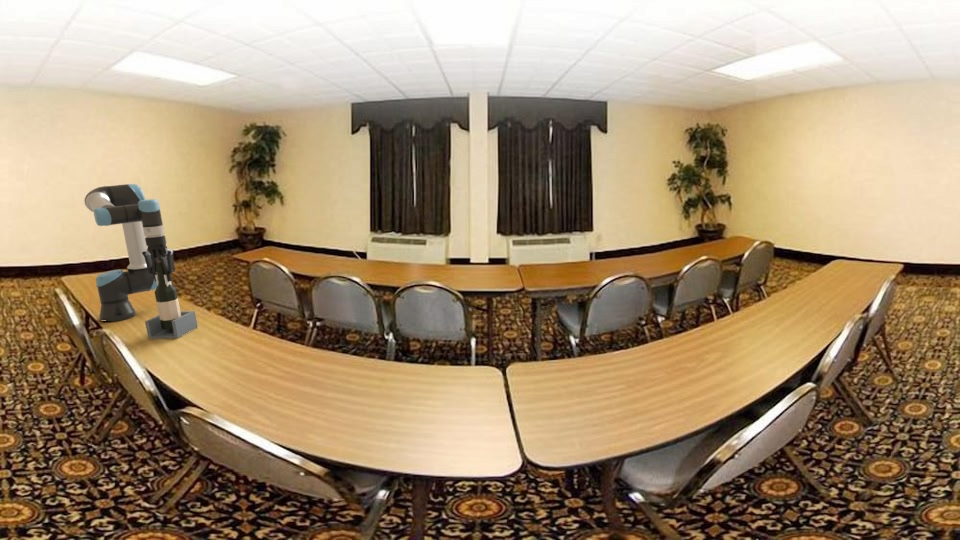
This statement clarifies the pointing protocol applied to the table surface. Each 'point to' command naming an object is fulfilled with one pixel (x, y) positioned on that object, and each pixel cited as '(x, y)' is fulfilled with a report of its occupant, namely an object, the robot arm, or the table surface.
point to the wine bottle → (166, 300)
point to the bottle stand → (179, 325)
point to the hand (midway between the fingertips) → (165, 288)
